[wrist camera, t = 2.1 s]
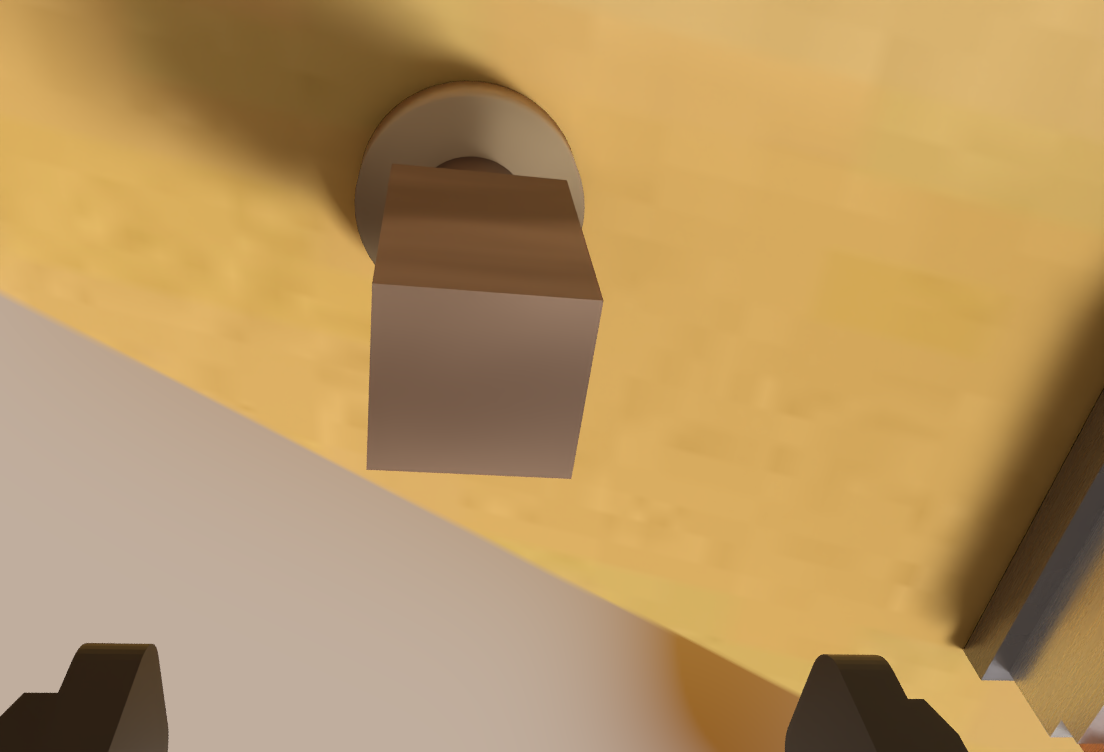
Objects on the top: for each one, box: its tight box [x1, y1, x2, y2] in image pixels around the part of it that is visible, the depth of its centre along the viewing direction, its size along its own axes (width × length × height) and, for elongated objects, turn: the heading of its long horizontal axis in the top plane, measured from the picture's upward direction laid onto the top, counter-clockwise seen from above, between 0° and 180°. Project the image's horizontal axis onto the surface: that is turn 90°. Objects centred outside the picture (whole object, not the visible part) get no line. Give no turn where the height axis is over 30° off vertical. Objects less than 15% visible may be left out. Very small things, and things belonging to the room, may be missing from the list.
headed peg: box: [355, 81, 603, 479], centre depth 21 cm, size 6×6×10 cm
